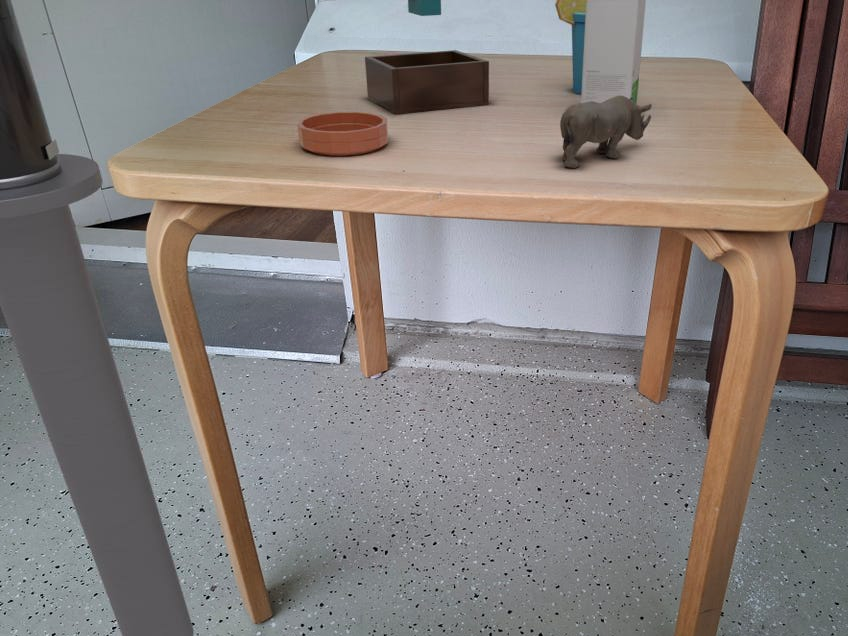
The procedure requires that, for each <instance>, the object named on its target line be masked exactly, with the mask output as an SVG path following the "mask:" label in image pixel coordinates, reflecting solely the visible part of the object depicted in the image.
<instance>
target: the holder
mask: <svg viewBox="0 0 848 636" xmlns="http://www.w3.org/2000/svg"><path fill="white" fill-rule="evenodd" d="M364 64H365V66H364V67H365V77H366V92H367V99H368V100H369V101H371V102H372V103H374V104H376V105H378V106H379V107H381V108H383V109H385V110H386V111H388V112H390V113H391V114H393V115H401V114H402V115H404V114H412V113H419V112H421V113H422V112H429V111H430V112H431V111H441V110H448V109H449V110H450V109H456V108H457V109H459V108H467V107H478V106H487V105H489V103H490V94H489V93H490V91H489V90H490V61H489V60H486V59H483V58H481V57H477V56H474V55H471V54H468V53H465V52H462V51H460V50H457V49H453V50H439V51H437V50H436V51H425V52H412V53H399V54H397V53H396V54H385V55H372V56H371V55H369V56H364Z"/></svg>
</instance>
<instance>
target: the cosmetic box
mask: <svg viewBox="0 0 848 636" xmlns="http://www.w3.org/2000/svg"><path fill="white" fill-rule="evenodd" d="M646 2H647V0H586V17H585V36H584V55H583V74H582V93H581V94H580V104H581V103H585V102H589V101H593V102H597V103H602V102H604V101H606V100H608V99H611V98H613V97H615V96H619V95H620V96H625V97H627V98H628V99H630V98H631V97H632V98H633V99H634V103H635V104H636V105H638V94H639V82H640V71H641V70H640V69H641V61H642V60H641V58H642V51H643V49H642V48H643V38H644V37H643V35H644V26H645V25H644V24H645V13H646Z"/></svg>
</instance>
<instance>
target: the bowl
mask: <svg viewBox="0 0 848 636" xmlns="http://www.w3.org/2000/svg"><path fill="white" fill-rule="evenodd" d="M296 127H297V136H298V142H299V145H300V147H302V148H303V149H304V150H306V151H309V152H311V153H314V154H316V155H322V156H333V157H334V156H335V157H336V156H337V157H342V156H343V157H344V156H346V157H347V156H356V155H362V154H368V153H371V152H375V151H377V150H379V149H381V148H382V147H383V146H385V145H387V144H388V142H389V130H388V118H386V117H384V116H383V115H381V114H378V113H372V112H365V111H332V112H322V113H318V114H313V115H309V116H307V117H304V118H301V119H300V120H299V121H298V122H297V124H296Z"/></svg>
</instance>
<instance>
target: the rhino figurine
mask: <svg viewBox="0 0 848 636" xmlns="http://www.w3.org/2000/svg"><path fill="white" fill-rule="evenodd" d="M652 107H653V104H652V103H649V104H646V105H642V106H641V105H639V104H637V105H636V104H635V103H634V99H633V98H632V97H631V98H630V99H628V98H627V97H625V96H620V95H619V96H615V97H613V98H611V99H608V100H606V101H604V102H602V103H597V102H593V101H589V102H585V103H581V102H580V103H577V104H574V105H571V106H569V107H568V108H566V110H565V111H564V112H563V113H562V115H561V118H560V122H559V127H560V128H559V129H560V133H561V138H562V139H563V141H562V150H563V154H562V156H561V159H562V161H564V162H563V166H564V167H565V168H566V167H567V168H574V169H575V168H577V167H580V162H579V161H578V160H577V157H576V156H577V153H578V152H579V151H580V149H581V148H582V147H583V146H584V145H585V144H586V143H587V142H588V143H591V144H598V147H597V148H596V152H597V153H599V154H605V156H607V157H608V158H611V159H619V158H620V157H621V153H620V152H619V151H618V150H617V146H618V145H619V143H620V142H621V141H622V139H623V138H624V136H625V135H626V136H628V137H630V138H631V139H632V140H636V141H639V140H641V138H643V137H644V132H645V130H646V129H647V127H648V125H649V123H650V122H651V119H652V115H651V114H649V115H648V116H647V118H646V119H645V120H644V118H645V114H643V113H645V112H648V111H650V110H651V108H652Z"/></svg>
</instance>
